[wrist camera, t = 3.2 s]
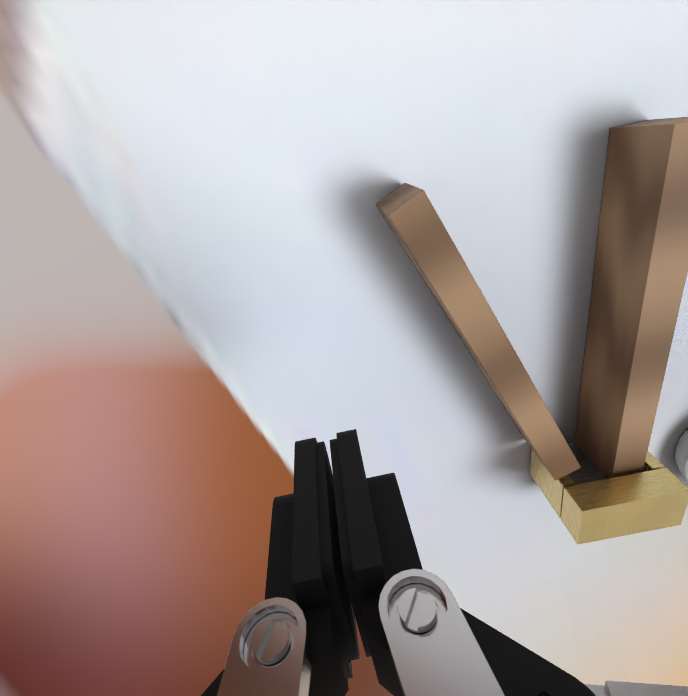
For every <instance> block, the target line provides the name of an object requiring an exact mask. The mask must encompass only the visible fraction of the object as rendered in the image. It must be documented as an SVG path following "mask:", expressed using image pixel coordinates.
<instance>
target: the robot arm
mask: <svg viewBox="0 0 688 696" xmlns="http://www.w3.org/2000/svg"><path fill="white" fill-rule="evenodd" d="M330 449H331V459H332V469H333V474H332V470H331V466H330V462H329V458H328V454H327V451H326V447H325V443H324V441H323V442H318V443H317V441H316V438H311V439H306V440H301V441H296V442H295V457H294V493H293V494H289V495H284V496H279V497H275V498H274V501H273V508H272V520H271V532H270V544H269V556H268V568H267V580H266V591H265V600H264V601H262V602H261V603H259V604H257V605H255V606H254V607H253V608H252V609H251V610H250V611H248V612H247V613H246V614H245V616H244V617H243V618H242V620H241V621H240V623H239V624H238V626H237V629H236V631H235V633H234V636H233V639H232V642H231V646H230V650H229V653H228V657H227V661H226V664H225V668H224V669H223V671H222V672H221V673H220V674H219V675H218V677H217V678H216V679H215V680H214V681H213V682H212V683H211V685H210V686H209V687H208V688H207V689H206V691H205V692H204V693H203V694H202V695H201V696H345V694H346V693H347V691H348V678H351V677H353V676H352V666H351V660H355V659H359V647H358V639H357V630H356V621H357V625H358V628H359V632H360V635H361V639H362V642H363V646H364V650H365V653H366V656H367V657H368V656H372V659H373V662H374V666H375V670H376V674H377V678H378V681H379V683H380V684H381V685H382V686H383V687H384V688H385V689H387V690H388V691H389V692H390V693H391V694H393V695H394V696H688V687H685V686H672V685H658V684H645V683H631V682H618V681H606V682H605V686H603V685H590V684H583V683H582V682H580V681H579V680H578V679H576V678H575V677H573V676H572V675H570V674H568V673H567V672H565V671H563V670H562V669H560V668H558V667H557V666H555V665H554V664H552V663H550V662H549V661H547V660H545V659H544V658H542V657H540V656H539V655H537V654H535V653H534V652H532V651H530V650H529V649H527V648H525V647H524V646H522V645H520V644H519V643H517V642H515V641H514V640H512V639H511V638H509V637H507V636H506V635H504V634H502V633H501V632H499V631H497V630H496V629H494V628H492V627H491V626H489V625H487V624H486V623H484V622H482V621H481V620H479V619H477V618H476V617H474V616H472V615H471V614H469V613H468V612H466V611H464V610H463V609H461V608H460V607H459V605H458V603H457V601H456V599H455V598H454V596H453V594H452V592H451V590H450V589H449V587H448V586H447V585H446V583H445V582H444V581H443V580H442V579H440V578H439V577H438V576H437V575H435V574H433V573H431V572H428V571H426V570H423V569H422V566H421V562H420V559H419V555H418V552H417V548H416V545H415V542H414V538H413V535H412V531H411V528H410V524H409V521H408V518H407V514H406V511H405V507H404V504H403V500H402V497H401V494H400V490H399V487H398V483H397V480H396V477H395V474H394V473H390V474H385V475H380V476H375V477H371V478H366V475H365V470H364V466H363V461H362V456H361V451H360V446H359V442H358V437H357V432H356V429H354V430H350V431H345V432H340V433H337V439H333V440H330ZM355 618H356V621H355Z"/></svg>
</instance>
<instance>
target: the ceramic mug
mask: <svg viewBox="0 0 688 696" xmlns="http://www.w3.org/2000/svg"><path fill="white" fill-rule="evenodd" d="M675 460H676V463H677V466H678V468H679V470H680V472H681V474H682V476H683V478H684V479H685V481H686V482H687V483H688V430H686V431H685V432H684V434H683V435H682V436H681V437H680V439H679V441H678V444H677V446H676V451H675Z"/></svg>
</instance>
